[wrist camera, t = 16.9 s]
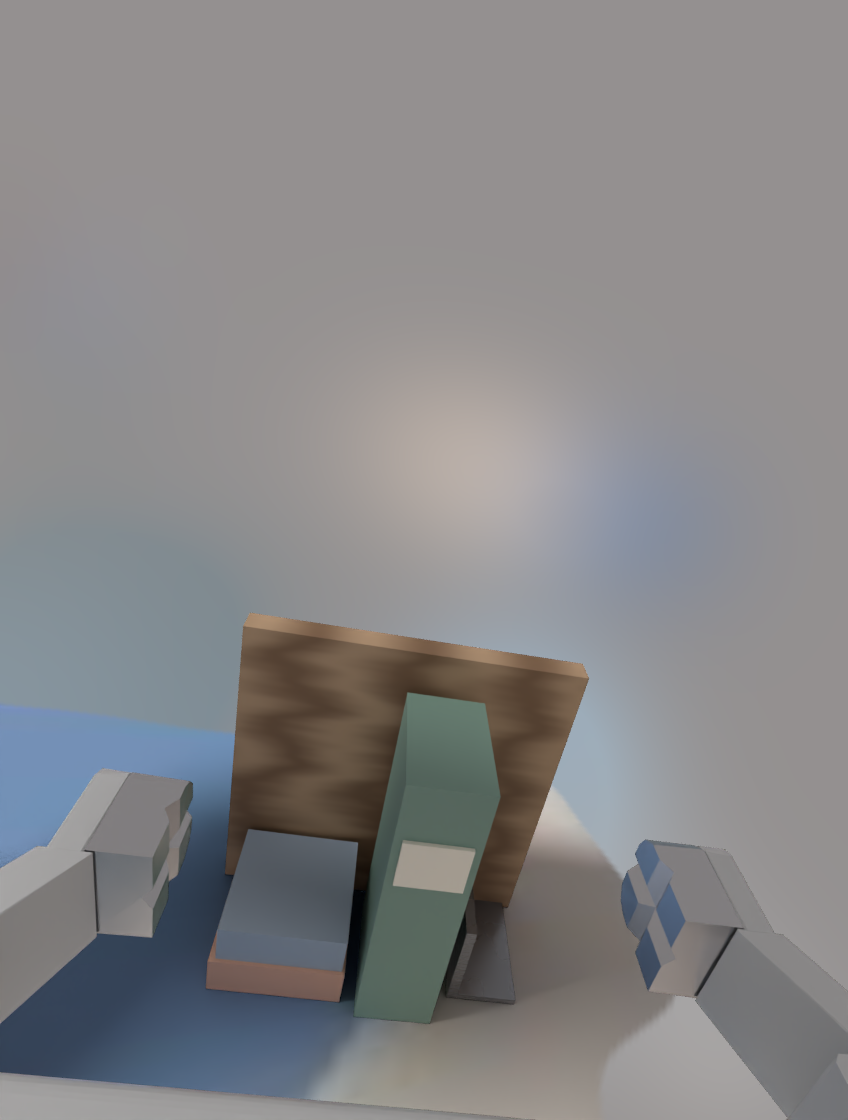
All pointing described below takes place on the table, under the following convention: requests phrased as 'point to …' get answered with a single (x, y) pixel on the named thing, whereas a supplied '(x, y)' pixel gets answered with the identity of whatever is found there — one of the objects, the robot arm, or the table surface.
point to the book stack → (286, 918)
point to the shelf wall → (384, 734)
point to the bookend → (481, 956)
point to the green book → (425, 856)
